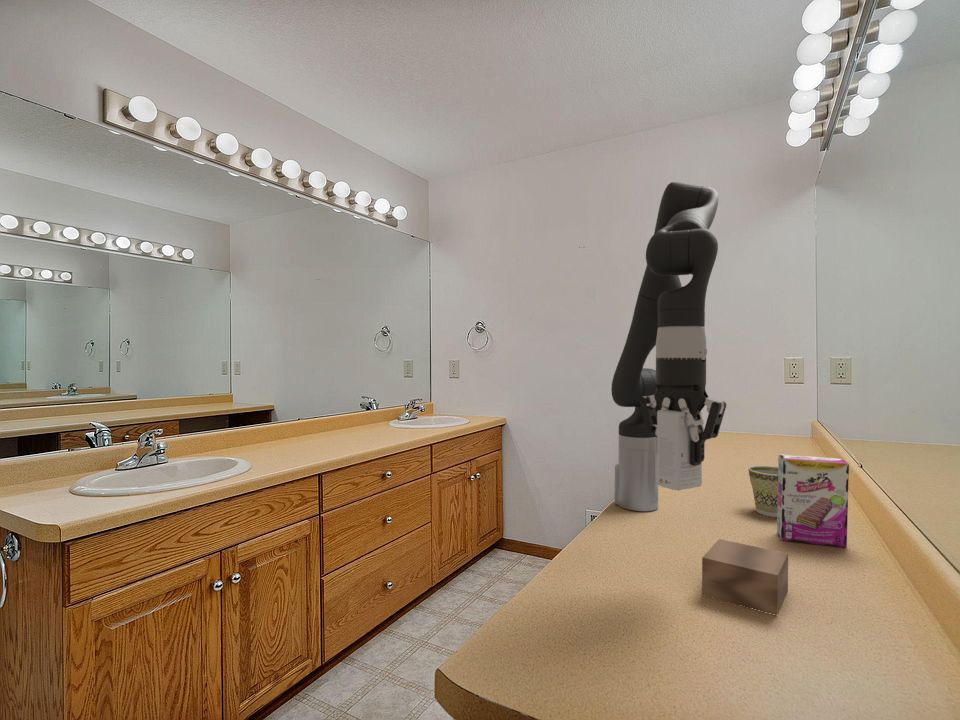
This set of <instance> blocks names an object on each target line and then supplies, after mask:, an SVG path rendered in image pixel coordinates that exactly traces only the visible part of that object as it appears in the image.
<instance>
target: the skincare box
mask: <svg viewBox="0 0 960 720" xmlns="http://www.w3.org/2000/svg"><path fill="white" fill-rule="evenodd" d="M700 412H701V413H702V410H701V411H700ZM684 416H685V414H684V413H683V412H681V411H672V410H669V411H666V410H659V411H657V485H658V487H662V488H666V489H669V490H672V491H682V490H687V489H688V490H689V489H693V488H698V487H701V486H702V483H703V481H702V480H703V478H702V476H703V475H702V473H703V470H702V469H703V468H702V467H703V466H702V465H703V463H702V462H701V464H700V465H697V466H693V465H691V464H690V442H692V441H693V440H692V438H691V435H690V431H689V429H688V427H687V426H686V424H685V420H684ZM696 418H698V417H695V418H694V420H696Z"/></svg>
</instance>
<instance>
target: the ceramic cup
mask: <svg viewBox="0 0 960 720" xmlns="http://www.w3.org/2000/svg"><path fill="white" fill-rule="evenodd" d="M748 477H749V480H750V484H751V488H752V492H753V497H754V498H753V499H754V504H755V510H757V511H756V513H757V512H758V513H760V514H759V515H761V514H763V515H762V516H765V515H766V516H765V517H768V516H772V517H771V518H776V517H777V503H778V466H772V465H771V466H770V465H753V466H749V467H748ZM758 513H757V514H758Z"/></svg>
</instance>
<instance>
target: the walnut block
mask: <svg viewBox="0 0 960 720" xmlns="http://www.w3.org/2000/svg"><path fill="white" fill-rule="evenodd" d="M701 561H702V562H701V564H702V566H701V567H702V568H701V570H702V571H701V578H702V579H701V580H702V581H701V596H703V595H705V596H704V597H707V596H709V597H708V598H710V597H713V598H712V599H714V598H716V599H715V600H717V599H719V600H718V601H721V600H722V601H721V602H724V601H725V603H728V602H729V604H732V603H733V604H732V605H735V604H736V606H739V605H742V606H745V607H744V608H746V607H748V608H747V609H749V608H753V609H756V610H755V611H757V610H760V611H763V612H762V613H764V612H767V613H771V614H775V615H777V614H778V615H779V613H780V611H781V608H782V606H783V604H784V601H785V599H786V596H787V594H788V591H789V553H787V552H783V551H777V550H773V549H769V548H765V547H760V546H759V547H758V546H754V545H749V544H745V543H741V542H735V541H731V540H725V539H723V538H722V539H721V538H718V539H717V541H716V542H715V543H713V545H712V546H711V547H710V548H709V550H707V552H706V553H704V555H703V556H702V558H701ZM782 603H783V604H782ZM781 605H782V606H781ZM742 606H741V607H742ZM753 609H752V610H753ZM779 610H780V611H779ZM760 611H759V612H760ZM778 612H779V613H778ZM767 613H766V614H767ZM771 614H770V615H771Z"/></svg>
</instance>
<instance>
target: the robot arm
mask: <svg viewBox="0 0 960 720" xmlns="http://www.w3.org/2000/svg"><path fill="white" fill-rule="evenodd" d="M662 193H663V194H662V196H661V200H660V202H659V208H658V213H657V218H656V222H655V227H654V232H653V235H652V236H651V238H650V239H649V241H648V242H647V245H646V251H645V261H646V267H645V270H644V273H643V277H642V279H641V284H640V287H639V291H638V295H637V299H636V303H635V306H634V310H633V316H632V320H631V324H630V327H629V330H628V334H627V337H626V341H625V343H624V344H625V345H624V347H623V349H622V352H621V355H620V358H619V360H618V363H617V365H616V369H615V370H614V374H613V378H612V381H611V390H610V391H611V397H612V400H613V402H614V403H615V404H616V405H617V406H618V407H622V408H634V411H633V412H632V414H631V415H630V416H629V417H628V418H626V419H623V420H622V421H620V422H619V423H618V464H615V465H614V505H616V506H617V505H618V506H619V507H621V508H623V509H625V510H629V511H636V512H652V511H656V510H657V509H659V485H657V411H659V410H666V411H669V410H672V411H681V412H683V413H684V414H685V416H684V420H685V424H686V426H687V427H688V429H689V431H690V435H691V438H692V440H693V441H692V442H690V464H691V465H693V466H697V465H700V464H701V462H704V461H705V445H706V443H705V442H706V441H707V440H711V439H714V438H718V436H719V432H720V428H721V425H722V421H723V419H724V415H725V411H726V409H727V403H726V402H725V400H716V399H713V398H710V397H709V395H708V393H707V391H706V386H707V355H708V349H707V336H706V332H705V331H706V329H705V326H706V325H705V324H706V323H705V322H706V320H705V319H706V312H705V311H706V298H707V297H706V296H707V291H708V286H709V281H710V277H711V274H712V272H713V269H714V265H715V263H716V259H717V256H718V252H719V249H718V248H719V242H718V240H717V237H716V235H715V233H713V231H712V230H710V228H711V226H712V224H713V222H714V219H715V217H716V213H717V209H718V205H719V195H718V192H717V190H715V189H714V188H713V187H709V186H704V185H698V184H694V183H693V184H691V183H684V182H677V181H676V182H675V181H672V182H671V181H670V183H668V184H667V185H666V187H665V188H664V191H663V192H662ZM688 275H689V276H690V275H692V277H691V280H689V282H688V283H687V284H686V285H684V286H682V283H681V280H680V276H688ZM654 348H655V369H653V368H644V365H645V363H646V361H647V358H648V356H649V355H650V354H651V352H652V350H653V349H654ZM705 406H706V411H707V414H708V415H707V418H706V422H705V425H704V419H703V416H702V410H703V409H704V407H705ZM700 411H701V412H700ZM695 417H698V418H696V420H694V418H695Z"/></svg>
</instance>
